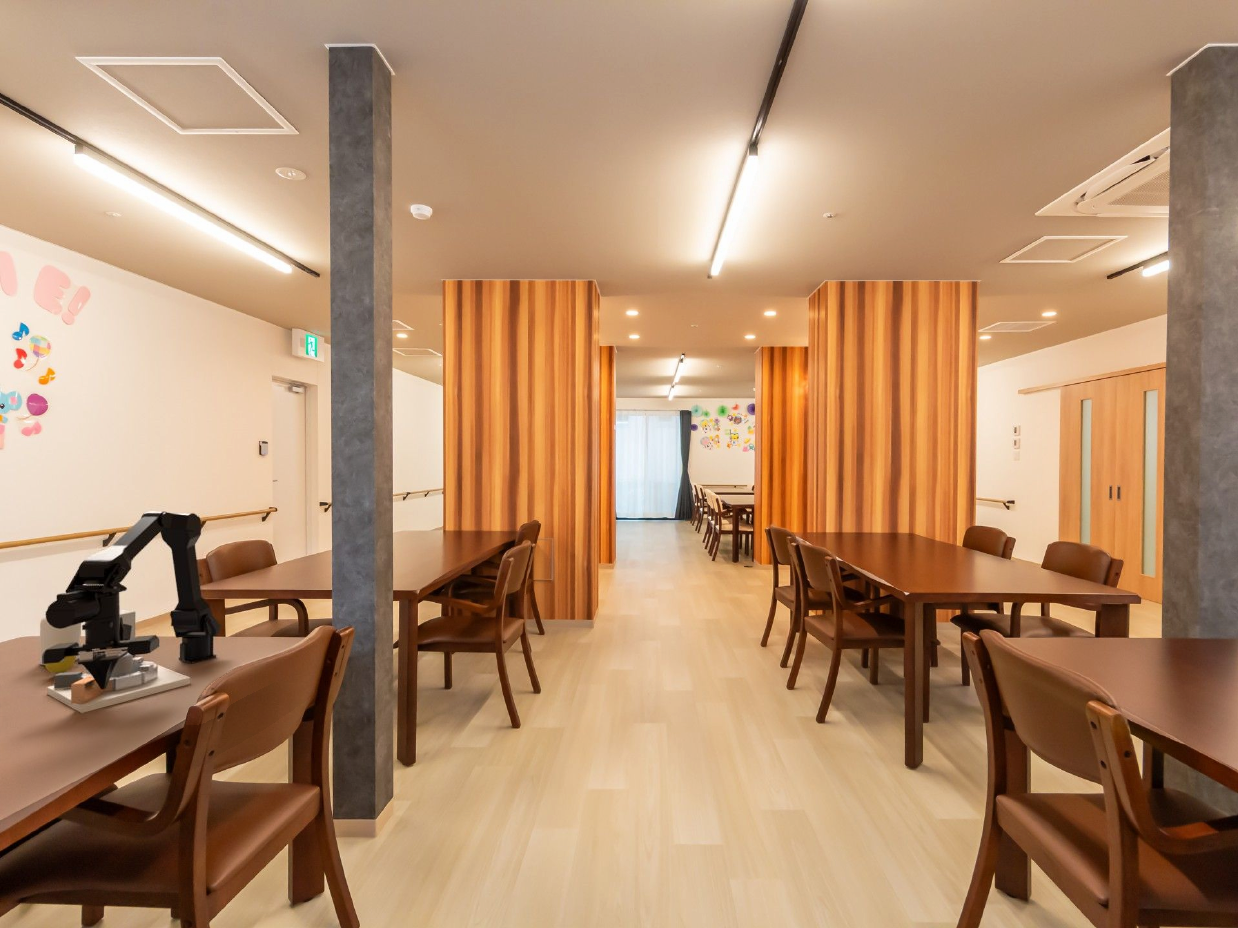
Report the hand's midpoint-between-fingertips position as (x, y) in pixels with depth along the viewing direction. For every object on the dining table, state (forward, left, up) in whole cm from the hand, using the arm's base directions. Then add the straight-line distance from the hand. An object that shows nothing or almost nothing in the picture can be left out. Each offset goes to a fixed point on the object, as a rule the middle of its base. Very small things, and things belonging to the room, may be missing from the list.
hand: (103, 688), depth 131 cm
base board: (-6, -8, -3) cm, 11 cm away
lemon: (-2, -31, -4) cm, 32 cm away
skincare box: (-16, -37, -4) cm, 41 cm away
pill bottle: (-6, -45, -4) cm, 46 cm away
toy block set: (-3, -6, -2) cm, 7 cm away
